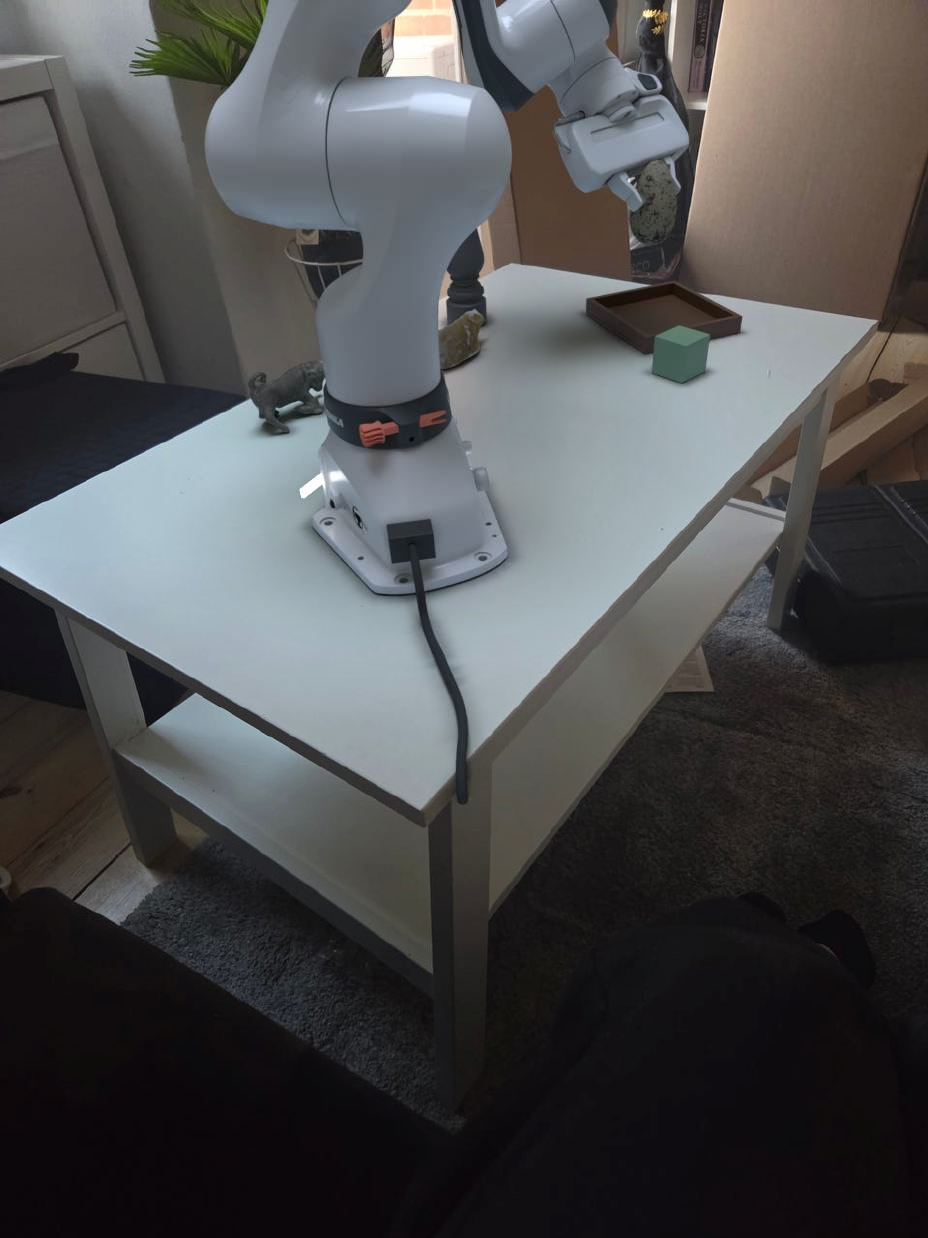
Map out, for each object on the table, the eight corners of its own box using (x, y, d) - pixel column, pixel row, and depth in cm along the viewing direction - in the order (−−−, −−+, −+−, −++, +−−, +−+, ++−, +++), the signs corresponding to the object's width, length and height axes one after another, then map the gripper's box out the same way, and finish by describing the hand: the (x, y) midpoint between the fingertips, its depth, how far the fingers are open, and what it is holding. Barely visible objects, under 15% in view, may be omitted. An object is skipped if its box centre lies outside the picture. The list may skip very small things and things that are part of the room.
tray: (740, 332, 121) (742, 315, 119) (645, 354, 117) (646, 337, 115) (673, 295, 133) (674, 280, 132) (585, 313, 130) (586, 298, 128)
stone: (399, 326, 112) (467, 285, 121) (396, 366, 117) (461, 324, 126) (440, 350, 110) (506, 307, 119) (435, 390, 115) (499, 346, 124)
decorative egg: (662, 234, 114) (669, 152, 108) (680, 247, 110) (689, 162, 103) (620, 240, 113) (625, 157, 107) (637, 253, 109) (643, 168, 102)
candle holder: (494, 318, 130) (488, 135, 114) (473, 332, 127) (464, 144, 111) (461, 312, 133) (450, 132, 117) (439, 325, 129) (425, 142, 113)
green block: (705, 371, 111) (710, 334, 108) (682, 383, 109) (686, 346, 106) (675, 361, 114) (678, 324, 111) (651, 372, 112) (654, 336, 109)
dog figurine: (275, 439, 104) (262, 382, 99) (247, 426, 107) (233, 370, 102) (347, 403, 110) (339, 348, 105) (319, 392, 113) (309, 338, 109)
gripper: (561, 101, 99) (622, 203, 100) (665, 73, 109) (720, 166, 110) (533, 139, 104) (591, 236, 105) (634, 110, 115) (687, 198, 115)
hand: (658, 200), depth 108 cm, fingers closed on decorative egg, 6 cm apart
